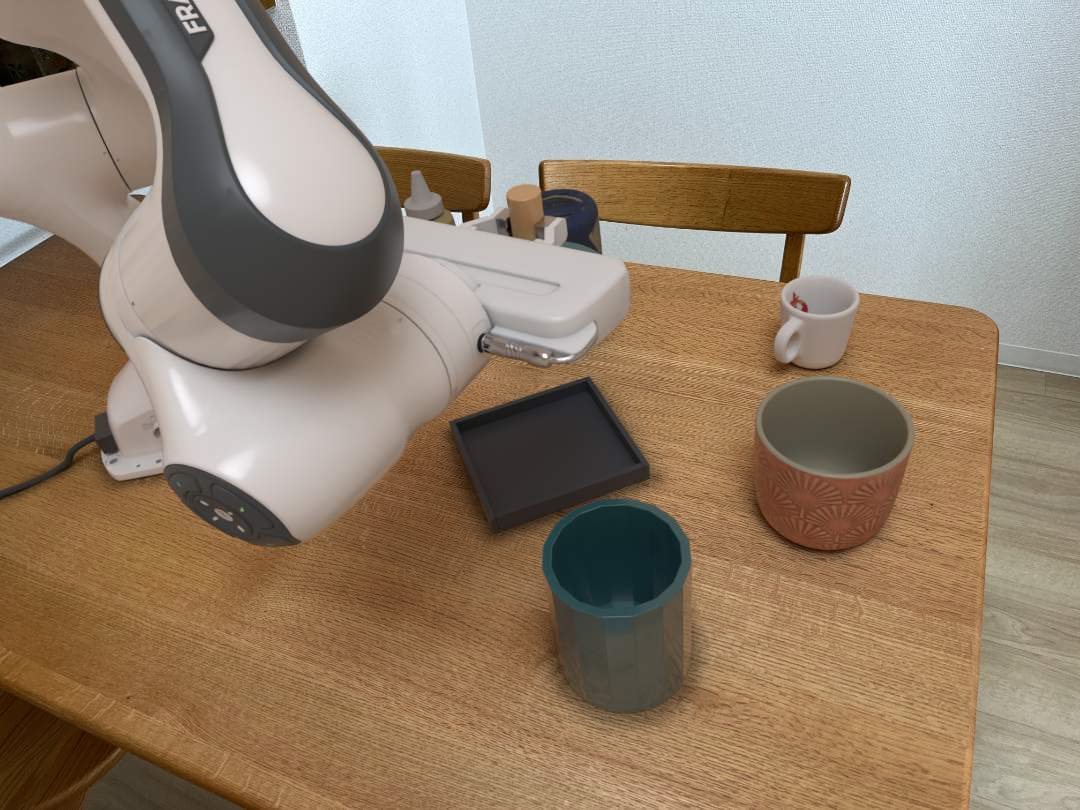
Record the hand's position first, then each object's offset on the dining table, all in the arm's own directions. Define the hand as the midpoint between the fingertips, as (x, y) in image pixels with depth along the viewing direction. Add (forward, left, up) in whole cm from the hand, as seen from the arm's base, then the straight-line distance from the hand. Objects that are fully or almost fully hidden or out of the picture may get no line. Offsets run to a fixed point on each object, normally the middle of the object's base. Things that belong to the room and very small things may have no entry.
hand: (534, 221), depth 57 cm
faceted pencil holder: (-2, -16, -31) cm, 35 cm away
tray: (0, +8, -31) cm, 32 cm away
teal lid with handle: (-1, -1, -5) cm, 5 cm away
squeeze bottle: (-2, +42, -31) cm, 52 cm away
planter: (+20, -10, -31) cm, 38 cm away
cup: (+31, +9, -31) cm, 45 cm away
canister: (+10, +27, -31) cm, 42 cm away
